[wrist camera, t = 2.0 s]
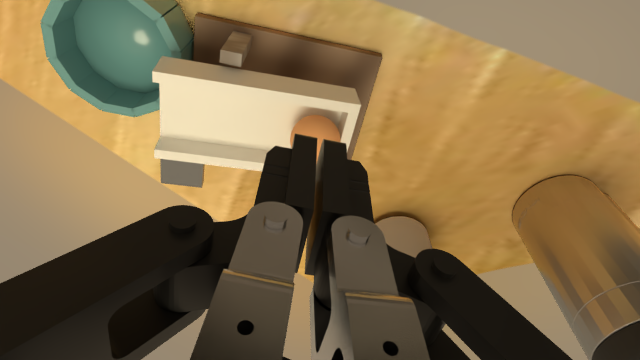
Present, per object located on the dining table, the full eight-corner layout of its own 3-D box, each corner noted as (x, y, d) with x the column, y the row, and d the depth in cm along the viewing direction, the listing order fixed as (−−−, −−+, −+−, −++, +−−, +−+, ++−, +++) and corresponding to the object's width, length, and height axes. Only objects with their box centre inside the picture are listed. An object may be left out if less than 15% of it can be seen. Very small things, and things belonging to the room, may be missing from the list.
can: (380, 265, 52) (392, 352, 42) (352, 226, 48) (358, 312, 38) (436, 243, 49) (463, 331, 39) (411, 201, 46) (434, 286, 36)
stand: (381, 53, 36) (389, 79, 31) (344, 176, 44) (345, 212, 39) (198, 13, 34) (176, 33, 29) (193, 147, 42) (175, 181, 37)
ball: (339, 108, 33) (351, 133, 30) (328, 149, 36) (338, 177, 32) (291, 103, 32) (299, 129, 29) (283, 146, 34) (289, 174, 31)
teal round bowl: (196, -11, 33) (182, 0, 30) (192, 106, 39) (180, 126, 36) (60, -42, 32) (30, -34, 29) (78, 83, 38) (54, 101, 35)
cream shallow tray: (355, 88, 33) (361, 105, 31) (325, 195, 40) (328, 215, 37) (162, 55, 30) (152, 71, 28) (163, 176, 37) (155, 197, 34)
